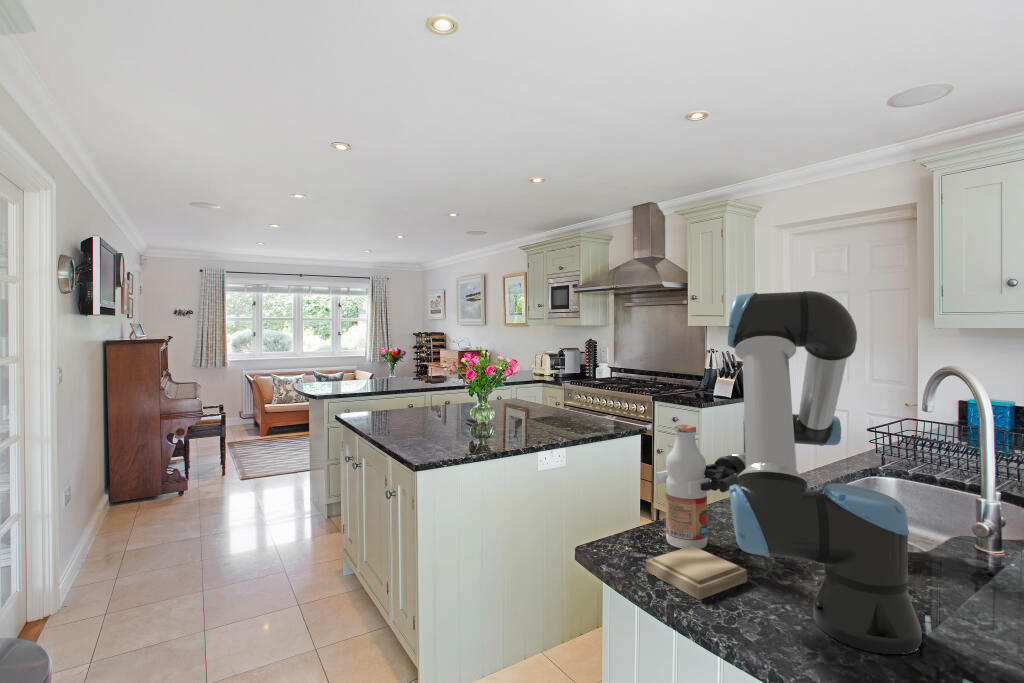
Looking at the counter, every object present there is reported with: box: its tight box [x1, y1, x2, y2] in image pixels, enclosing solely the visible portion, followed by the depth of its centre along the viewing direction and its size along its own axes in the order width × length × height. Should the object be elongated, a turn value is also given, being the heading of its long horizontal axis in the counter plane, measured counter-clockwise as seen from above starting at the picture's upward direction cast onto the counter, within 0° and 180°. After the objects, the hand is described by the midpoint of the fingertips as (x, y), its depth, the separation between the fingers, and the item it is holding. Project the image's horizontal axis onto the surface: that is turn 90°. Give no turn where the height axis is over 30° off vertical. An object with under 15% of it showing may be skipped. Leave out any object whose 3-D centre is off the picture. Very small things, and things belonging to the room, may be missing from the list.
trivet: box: [645, 546, 748, 601], centre depth 108 cm, size 14×14×3 cm
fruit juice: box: [665, 424, 708, 550], centre depth 125 cm, size 9×9×28 cm
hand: (672, 483), depth 123 cm, fingers closed on fruit juice, 9 cm apart
